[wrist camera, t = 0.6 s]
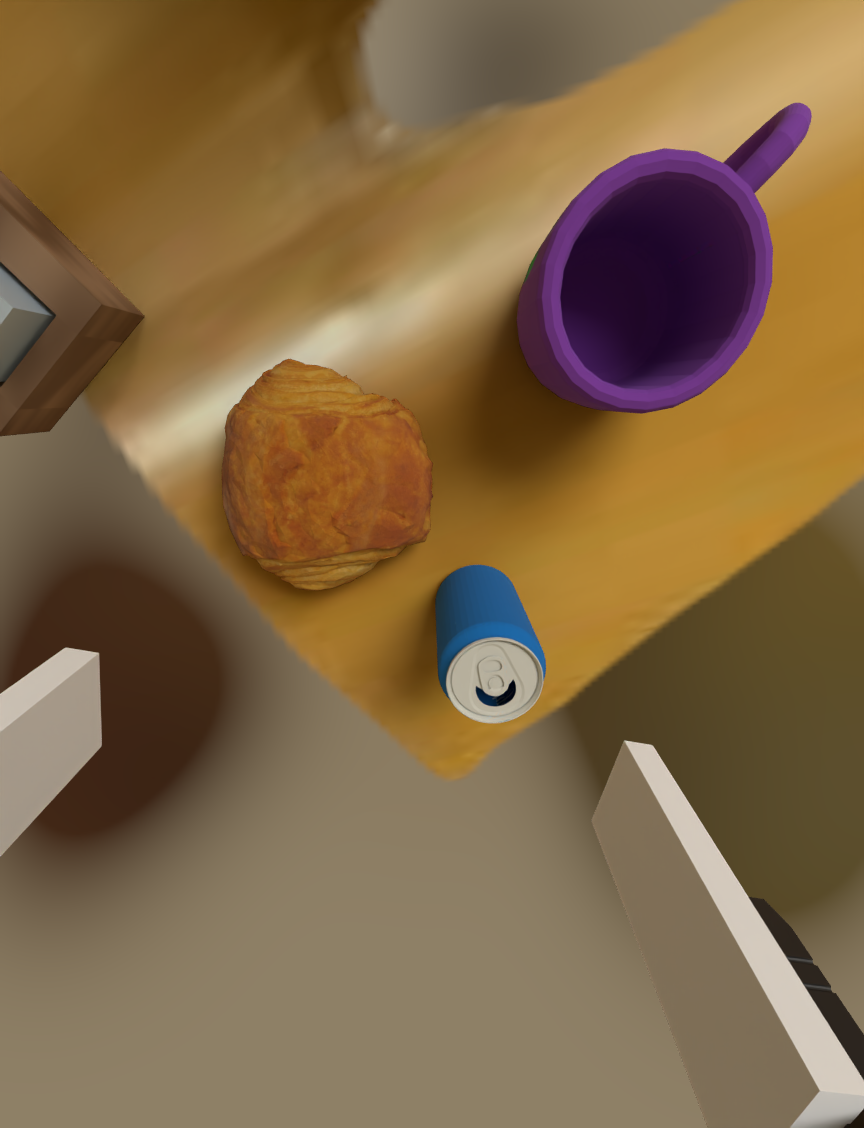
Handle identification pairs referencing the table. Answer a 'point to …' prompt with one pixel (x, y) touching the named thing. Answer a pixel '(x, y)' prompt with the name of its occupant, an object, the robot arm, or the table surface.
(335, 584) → the pastry
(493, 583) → the beverage can
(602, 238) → the mug
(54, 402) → the key block
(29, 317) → the slate key
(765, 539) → the table surface
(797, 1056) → the robot arm
